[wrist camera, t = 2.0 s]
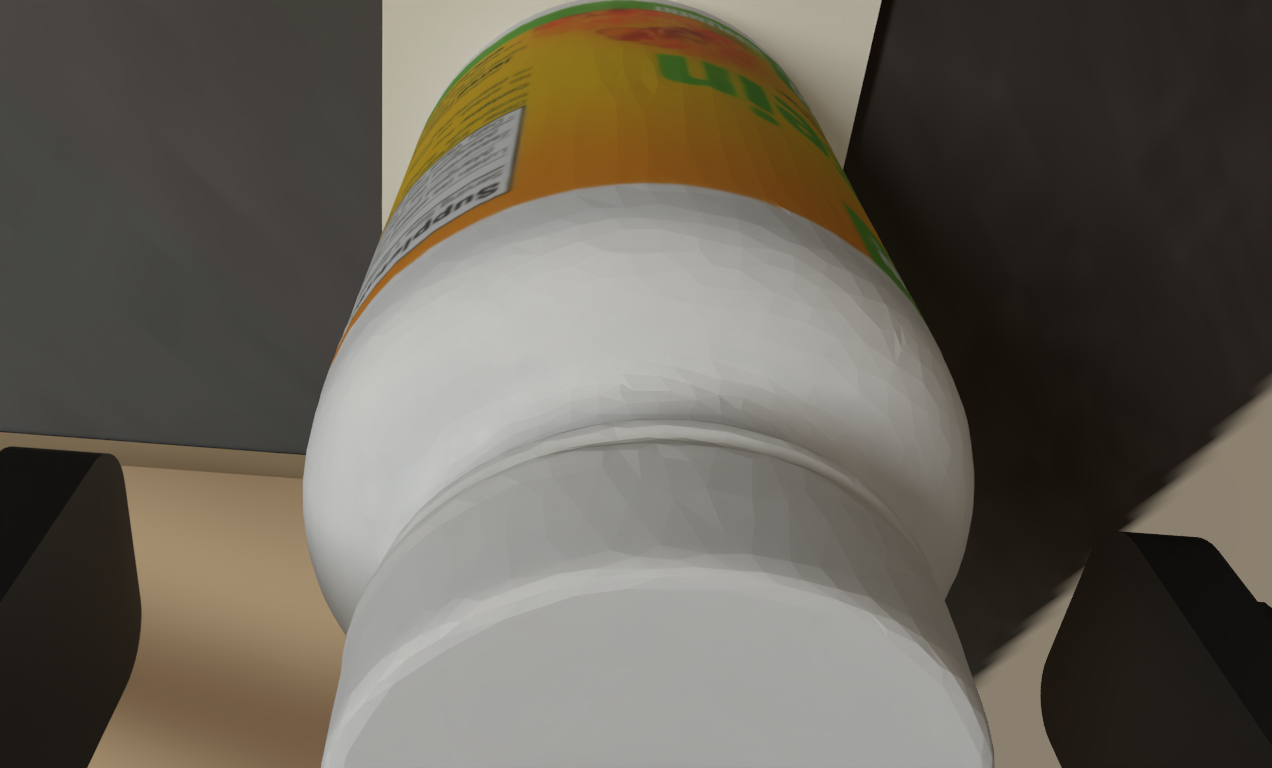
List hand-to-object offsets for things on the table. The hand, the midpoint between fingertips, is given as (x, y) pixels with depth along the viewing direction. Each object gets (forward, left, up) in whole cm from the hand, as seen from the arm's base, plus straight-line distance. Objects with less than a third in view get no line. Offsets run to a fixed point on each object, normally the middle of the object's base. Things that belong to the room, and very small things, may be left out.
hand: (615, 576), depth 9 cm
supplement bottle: (-1, 0, -7) cm, 7 cm away
